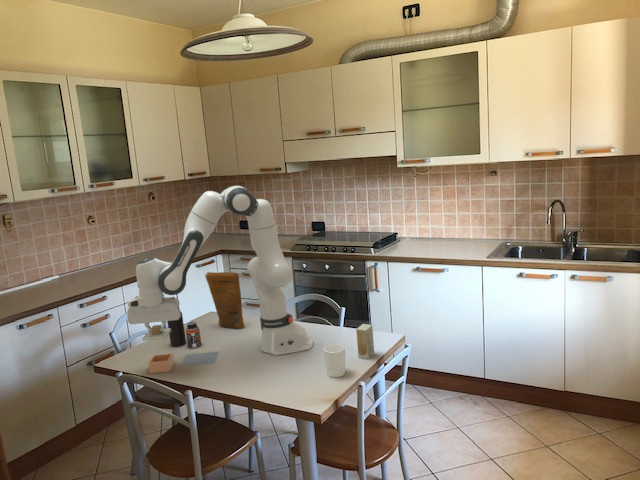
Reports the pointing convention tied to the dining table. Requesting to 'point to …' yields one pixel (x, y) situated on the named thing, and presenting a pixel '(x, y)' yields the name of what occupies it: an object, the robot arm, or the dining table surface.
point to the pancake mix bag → (226, 298)
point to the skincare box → (365, 341)
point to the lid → (156, 333)
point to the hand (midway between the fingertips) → (156, 332)
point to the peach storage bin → (161, 363)
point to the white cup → (335, 360)
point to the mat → (199, 359)
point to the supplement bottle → (193, 335)
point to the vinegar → (177, 332)
